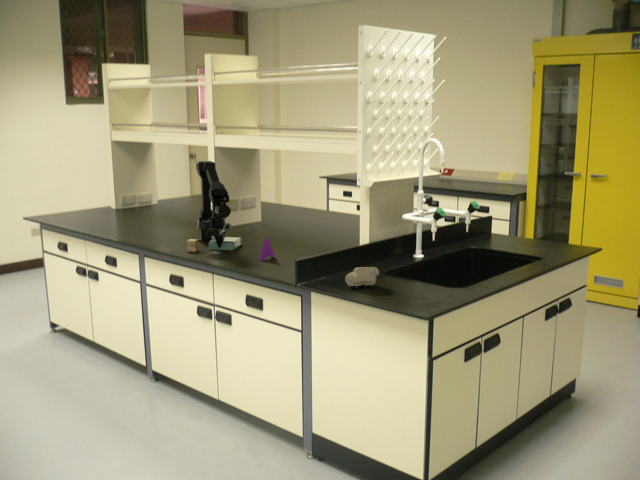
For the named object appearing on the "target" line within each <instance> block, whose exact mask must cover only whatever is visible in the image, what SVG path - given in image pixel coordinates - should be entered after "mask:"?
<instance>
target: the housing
mask: <svg viewBox="0 0 640 480" xmlns="http://www.w3.org/2000/svg"><path fill="white" fill-rule="evenodd" d="M241 239H242V237H233V236H225V238H224V241H223V242H233V250H236V249H237V248H238V247H240V246H241V242H242V240H241ZM209 242H213V243H216V239H215V237H214V239H212V240H210V241H209Z"/></svg>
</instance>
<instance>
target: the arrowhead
mask: <svg viewBox="0 0 640 480" xmlns="http://www.w3.org/2000/svg"><path fill="white" fill-rule="evenodd" d="M267 257H270V258H273V259H276V256H275V253H274V250H273V247H272V245H271V242H270V239H269V238H268V237H265V238H264V241H263V244H262V248H261V251H260V255H259V257H258V262H263V261H264V260H265V259H266V258H267Z"/></svg>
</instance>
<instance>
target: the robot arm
mask: <svg viewBox="0 0 640 480" xmlns="http://www.w3.org/2000/svg"><path fill="white" fill-rule="evenodd" d="M195 169H196V172H197V173H196V174H197V175H198V177H199V178H200V186H201V187H200V191H201V192H200V193H201V195H200V196H201V208H200V211H199V213H198V217H197V219H196V220H197V221H196V228H197V230H200V234H199V235H200V238H199V239H198V242H210V240H212V239H214V238H215V239H216V242H217V245H218V248H220V247H221V246H222V243H223V241H224V238H225V237H227V234H228V231H230V230H232V224H231V223H230V222H226V219H227V218H228V217H229V216H230V215H231V207H230V206H229V205H227V203H230V196H229V192H228V191H227V189H226V187H225V185H224V184H223V183H222V182H221V181H220V178H219V175H218V172H217V167H216V162H214V161H212V160H202V161H201V160H200V161H198V162H197V163H196V164H195ZM225 230H228V231H225ZM213 237H214V238H213Z"/></svg>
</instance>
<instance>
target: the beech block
mask: <svg viewBox="0 0 640 480" xmlns="http://www.w3.org/2000/svg"><path fill="white" fill-rule="evenodd" d="M198 240H199V239H194V238H192V239H191V238H190V239H188V240H186V252H193V253H195V252H198V251H199V241H198Z"/></svg>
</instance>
